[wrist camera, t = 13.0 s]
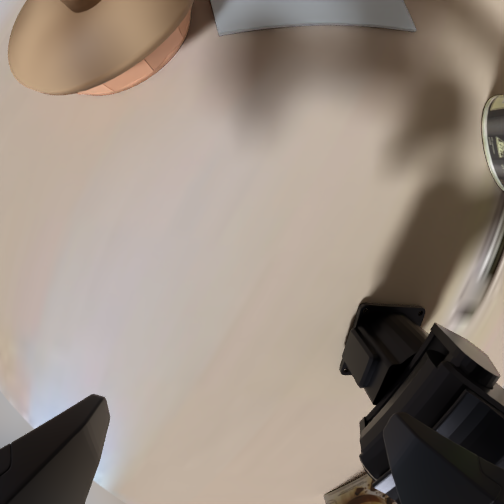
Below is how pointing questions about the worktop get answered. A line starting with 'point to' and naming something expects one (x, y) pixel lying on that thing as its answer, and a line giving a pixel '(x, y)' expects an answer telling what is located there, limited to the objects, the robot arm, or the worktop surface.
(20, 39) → the lid
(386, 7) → the mat
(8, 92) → the worktop surface
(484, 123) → the coffee can
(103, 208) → the worktop surface
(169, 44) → the bowl
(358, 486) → the coffee box
